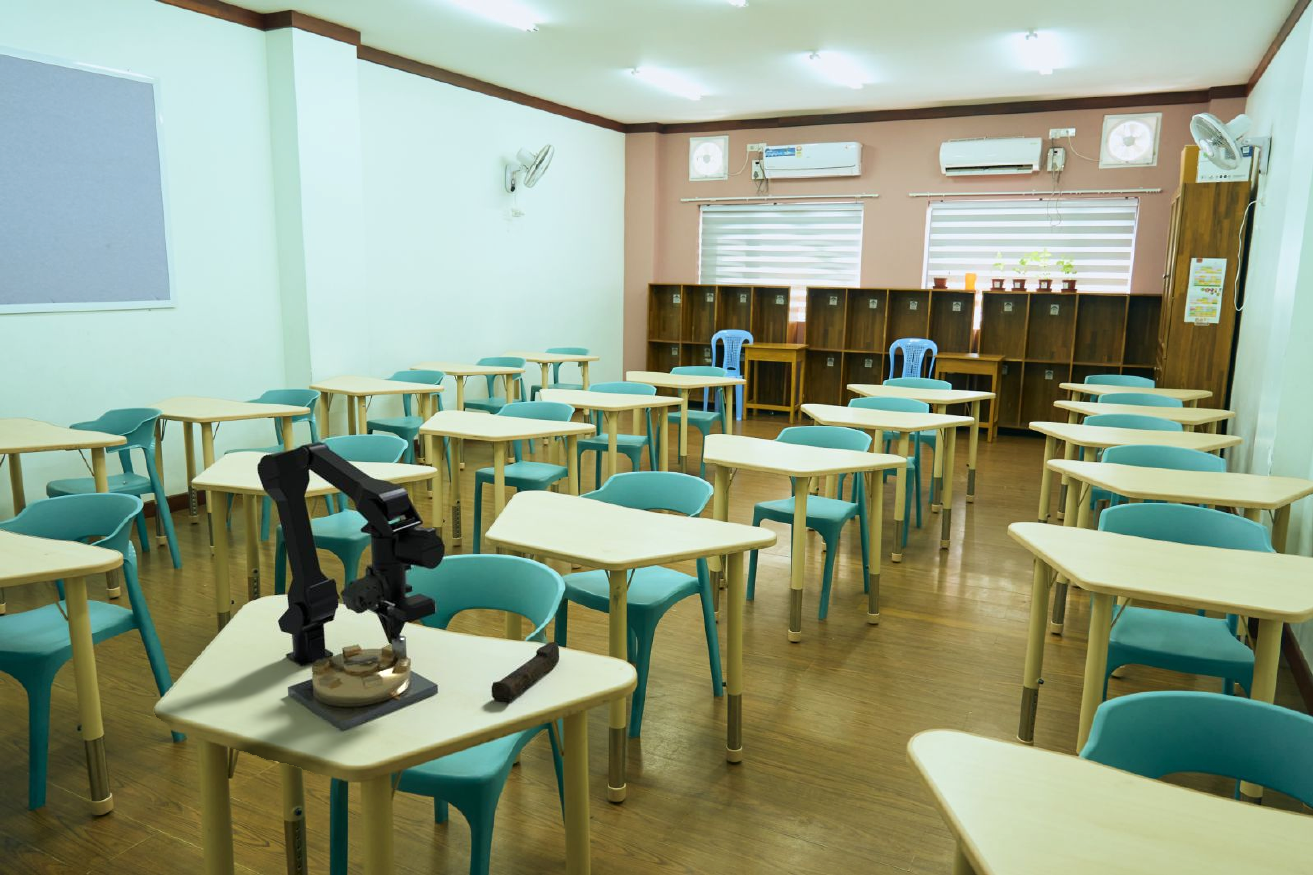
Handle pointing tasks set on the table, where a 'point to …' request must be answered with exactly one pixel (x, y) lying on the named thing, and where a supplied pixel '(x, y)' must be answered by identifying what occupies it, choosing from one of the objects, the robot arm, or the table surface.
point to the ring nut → (362, 675)
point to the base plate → (360, 714)
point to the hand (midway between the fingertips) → (392, 643)
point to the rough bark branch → (526, 673)
